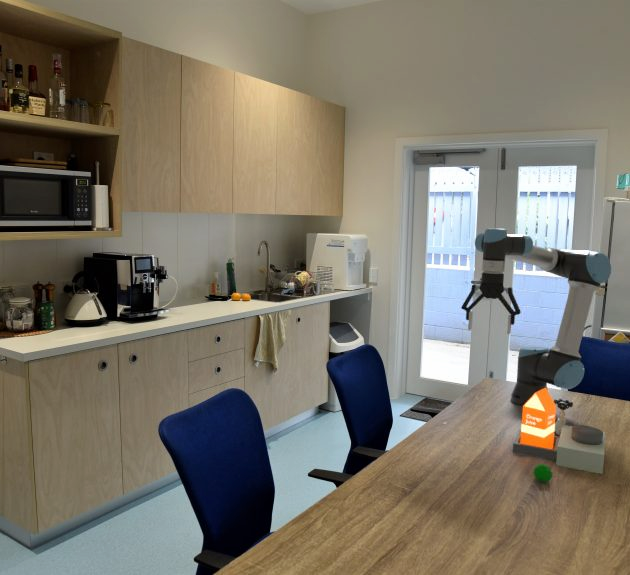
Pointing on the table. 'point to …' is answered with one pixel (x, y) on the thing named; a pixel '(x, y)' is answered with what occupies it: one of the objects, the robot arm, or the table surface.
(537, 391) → the robot arm
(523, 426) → the orange juice
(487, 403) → the table surface
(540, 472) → the polyhedron
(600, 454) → the grey boxy fixture
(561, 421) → the valve
